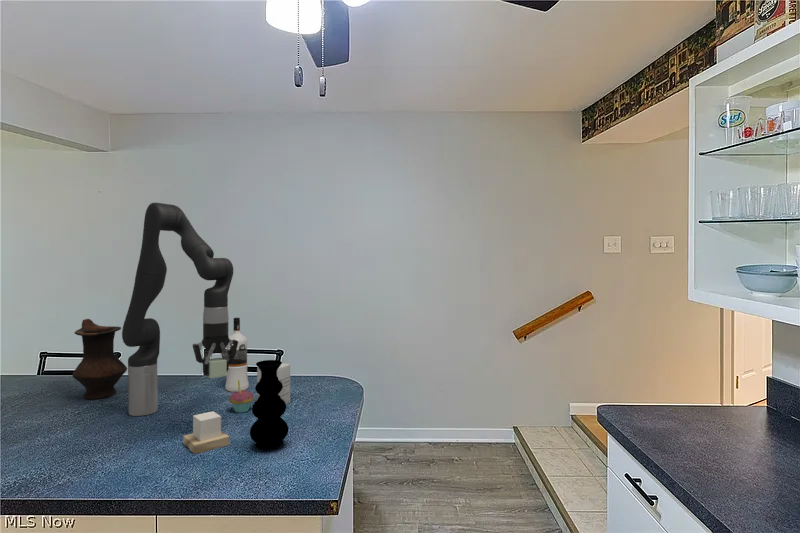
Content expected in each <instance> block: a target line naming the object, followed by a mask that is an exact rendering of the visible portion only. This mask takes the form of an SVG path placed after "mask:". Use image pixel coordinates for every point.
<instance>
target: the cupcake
mask: <svg viewBox="0 0 800 533" xmlns="http://www.w3.org/2000/svg"><path fill="white" fill-rule="evenodd" d="M238 389H239V391H237V392H232V393H231V394H230V395H229V400H228V402H230V404H232V407H233V410H234V412H235V413H246V412H249V410H250V406H251V404H252V403H253V402H254V400H255V397H254V394H253V393H252V392H251V391H248V390H240V381H239V379H238Z"/></svg>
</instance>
